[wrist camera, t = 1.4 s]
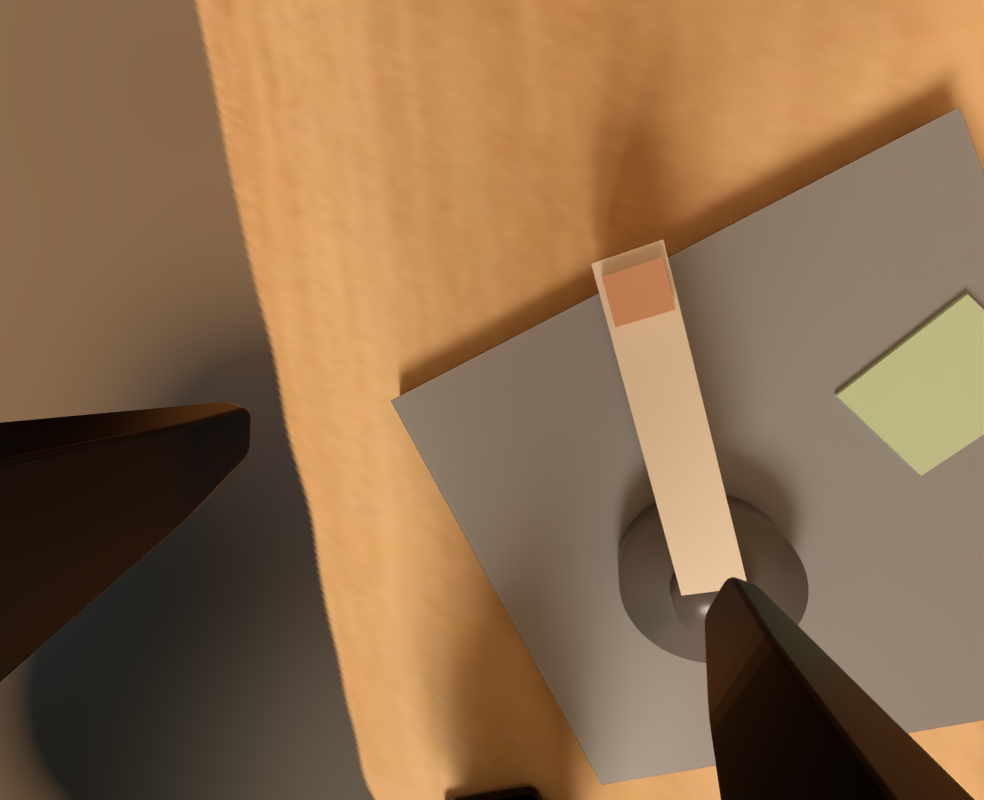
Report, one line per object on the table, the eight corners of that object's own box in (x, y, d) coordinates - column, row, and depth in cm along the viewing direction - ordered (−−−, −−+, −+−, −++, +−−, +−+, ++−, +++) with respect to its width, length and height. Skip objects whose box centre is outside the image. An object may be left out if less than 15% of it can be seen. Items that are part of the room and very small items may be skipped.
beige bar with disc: (806, 626, 20) (860, 714, 16) (639, 643, 21) (648, 726, 17) (717, 226, 17) (755, 207, 13) (534, 287, 19) (516, 287, 15)
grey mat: (601, 766, 25) (601, 788, 24) (399, 395, 23) (388, 401, 22) (1141, 667, 18) (1177, 692, 17) (937, 117, 16) (964, 104, 15)
